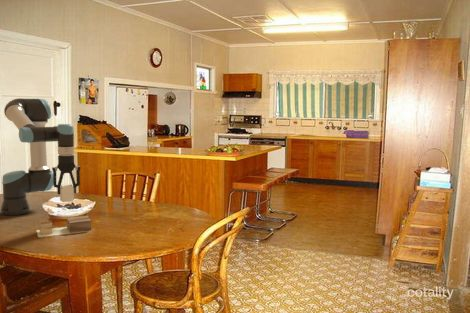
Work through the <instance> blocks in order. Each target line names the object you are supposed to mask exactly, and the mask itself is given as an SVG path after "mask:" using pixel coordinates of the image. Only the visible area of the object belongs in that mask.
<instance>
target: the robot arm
mask: <svg viewBox="0 0 470 313" xmlns="http://www.w3.org/2000/svg"><path fill="white" fill-rule="evenodd" d="M3 112H4V116H5V117H6V119H7V120H8V121H9V122H10V121H11V122H12V123H13V124H14V126H15V127H16V128H17V129H18V138H19V141H20V143H26V144H27V143H29V150H30V151H29V152H30V167H29V168H28V169H27V171H28V172H26V171H25V170H12V171H9V172H6V173H4V174H3V175H2V181H1V184H2V195H3V196H2V198H3V200H2V203H1V206H0V215H2V216H20V215H25V214H28V213H30V212H31V207H30V204H29V202H28V199H27V194H29V193H39V192H48V191H51V189H52V188H56V189H57V192H56V193H57V195H59V200H60V202H62V188H61V185H62V182H63V178H64V176H65V174H69V177H70V180H71V184H72V186H73V201H74V200H75V194H76V193H77V187H79V186H80V185H81V180H80V179H81V177H80V173H81V172H80V171H81V166H80V165H76V164H75V155H74V154H75V136H74V133H75V130H74V129H75V128H74V125H73V124H72V123H60V124H59V123H58V125H54V126H46V124H48V123H49V122H48V120H50V119H51V117H52V110H51V105H50V103H49V102H48V101H47V99H43V98H20V97H19V98H14V99H12V100H10V101H8V103H6V104H5V106H4V111H3ZM48 142H52V143H53V142H57V154H58V155H57V161H58V162H57V163H58V164H57V166H53V167H51V168H50V167H49V166H48V161H47V160H48V159H47V143H48ZM51 169H52V170H51ZM58 170H59V171H60V174H59V177H58V181H57V172H58ZM74 170H75V171H76V172H75V173H76V175H75V176H76V181H75V177H74V174H73V171H74Z"/></svg>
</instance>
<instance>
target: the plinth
mask: <svg viewBox="0 0 470 313" xmlns="http://www.w3.org/2000/svg"><path fill="white" fill-rule="evenodd" d="M66 227H67V228H68V230H69V232H70V233H71V234H75V233H74V232H80V233H83V232H82V231H88V232H92V220H91V218H90V217H89V215H79V216H70V217H66Z"/></svg>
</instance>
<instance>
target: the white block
mask: <svg viewBox="0 0 470 313" xmlns="http://www.w3.org/2000/svg"><path fill="white" fill-rule="evenodd" d="M61 188H62V201H61V202H62V203H69V202H74V200H73V184H72V183H67V184H66V183H65V184H61Z"/></svg>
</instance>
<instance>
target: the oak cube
mask: <svg viewBox="0 0 470 313" xmlns="http://www.w3.org/2000/svg"><path fill="white" fill-rule="evenodd" d="M52 228H53V221H52V220H44V221H39V230H40V233H41V235H43V234H52V233H53V232H52Z"/></svg>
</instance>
